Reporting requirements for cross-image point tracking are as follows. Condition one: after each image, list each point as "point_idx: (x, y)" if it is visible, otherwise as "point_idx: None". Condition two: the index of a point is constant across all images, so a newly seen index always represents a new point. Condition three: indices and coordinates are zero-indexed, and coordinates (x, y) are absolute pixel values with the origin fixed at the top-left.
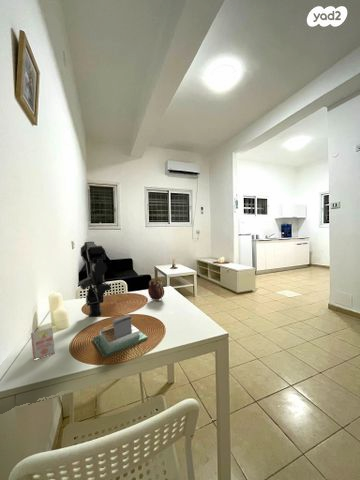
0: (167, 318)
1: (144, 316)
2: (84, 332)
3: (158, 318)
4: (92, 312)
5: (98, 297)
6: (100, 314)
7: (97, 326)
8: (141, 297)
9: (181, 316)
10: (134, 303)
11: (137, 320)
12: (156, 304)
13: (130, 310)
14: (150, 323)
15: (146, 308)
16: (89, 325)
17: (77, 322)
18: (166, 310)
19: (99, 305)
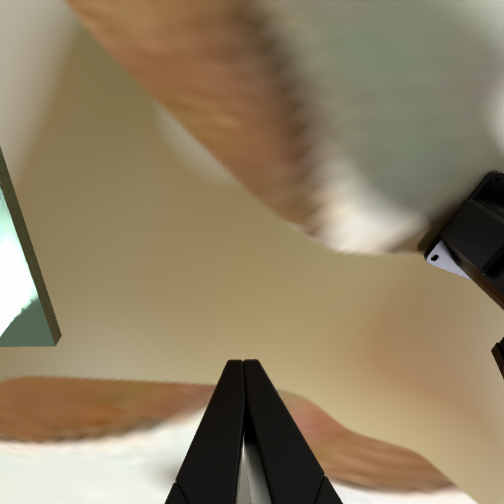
0: (37, 467)
1: (144, 417)
2: (195, 23)
3: (66, 446)
4: (483, 214)
5: (192, 455)
6: (425, 255)
7: (229, 165)
8: (412, 480)
9: (20, 501)
10: (372, 439)
11: (117, 380)
12: (248, 489)
13: (296, 399)
14: (27, 407)
15: (242, 452)
16: (310, 116)
17: (493, 37)
18: (136, 490)
19: (499, 305)
